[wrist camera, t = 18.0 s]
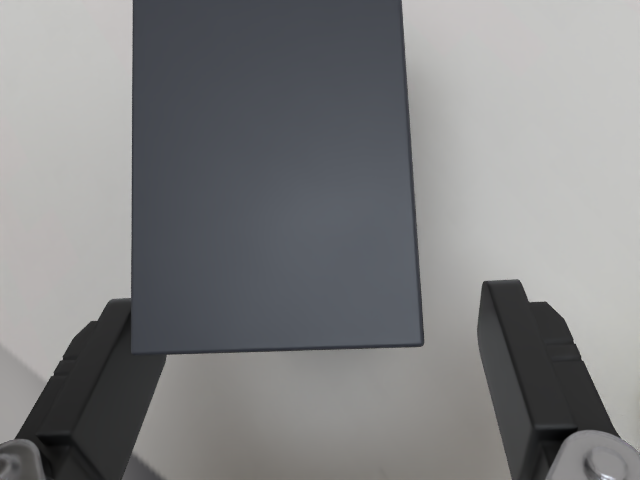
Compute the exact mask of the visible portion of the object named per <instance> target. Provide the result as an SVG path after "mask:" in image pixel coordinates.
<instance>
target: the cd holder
mask: <svg viewBox="0 0 640 480" xmlns="http://www.w3.org/2000/svg"><path fill="white" fill-rule="evenodd" d="M423 345H424V329H423V314H422V299H421V284H420V269H419V254H418V239H417V224H416V209H415V194H414V179H413V164H412V149H411V134H410V119H409V104H408V89H407V74H406V59H405V44H404V29H403V14H402V0H133V67H132V253H131V353H132V354H133V355H135V356H137V355H170V354H203V353H236V352H269V351H302V350H335V349H368V348H401V347H421V346H423Z"/></svg>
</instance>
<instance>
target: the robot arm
mask: <svg viewBox="0 0 640 480" xmlns="http://www.w3.org/2000/svg"><path fill="white" fill-rule="evenodd" d="M477 335H478V345H479V351H480V356H481V360H482V363H483V367H484V371H485V375H486V379H487V383H488V387H489V391H490V395H491V399H492V403H493V406H494V410H495V414H496V418H497V422H498V426H499V430H500V434H501V438H502V442H503V446H504V450H505V453H506V457H507V461H508V465H509V469H510V473H511V477H512V480H640V453H639V452H638V451H637V450H636V449H634V448H633V447H632V446H631V445H630V444H628V443H627V442H625V441H624V440H622V439H621V437H620V436H619V435H618V433H617V432H616V430H615V428H614V427H613V425H612V423H611V421H610V418H609V416H608V414H607V412H606V410H605V407H604V405H603V403H602V401H601V399H600V396H599V394H598V392H597V390H596V388H595V386H594V383H593V381H592V379H591V377H590V375H589V372H588V370H587V368H586V366H585V364H584V361H582V360H581V355H580V353H579V350H578V348H577V346H576V344H574V342H573V337H572V335H571V333H570V331H569V329H568V326H567V324H566V322H565V320H564V318H562V317H561V316H560V315H559V314H558V313H557V312H556V311H555V310H554V309H553V308H552V307H551V306H550V305H549V304H548V303H547V302H529V301H528V299H527V296H526V293H525V291H524V288H523V286H522V284H521V282H520V281H519V280H518V279H516V280H496V281H484V282H483V284H482V291H481V300H480V308H479V317H478V327H477ZM166 356H167V355H137V356H135V355H133V354H132V353H131V298H122V299H112V300H110V301H109V302H108V303H107V305H106V306H105V308H104V310H103V312H102V314H101V316H100V317H99V319H98V321H91V322H90V323H89V324H88V325H87V326H86V327H85V328H84V329H83V330H81V331H80V332H79V333H78V334H77V335H76V336H75V337H74V338H73V340H72V342H71V343H70V345H69V347H68V349H67V350H66V352H65V354H64V355H63V360H62V361H60V362H59V364H58V366H57V367H56V369H55V371H54V376H51V378H50V379H49V381H48V383H47V385H46V386H45V388H44V390H43V392H42V393H41V395H40V397H39V398H38V400H37V402H36V403H35V405H34V407H33V409H32V410H31V412H30V414H29V416H28V417H27V419H26V421H25V423H24V424H23V426H22V428H21V429H20V431H19V433H18V434H17V436H16V437H15V439H14V440H10V441H7V442H4V443H2V444H0V480H121V479H122V477H123V474H124V472H125V469H126V466H127V464H128V461H129V458H130V456H131V453H132V450H133V448H134V445H135V442H136V440H137V437H138V434H139V431H140V429H141V426H142V423H143V421H144V418H145V415H146V413H147V410H148V407H149V405H150V402H151V399H152V397H153V394H154V391H155V389H156V386H157V383H158V380H159V378H160V375H161V372H162V370H163V367H164V364H165V361H166Z"/></svg>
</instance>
